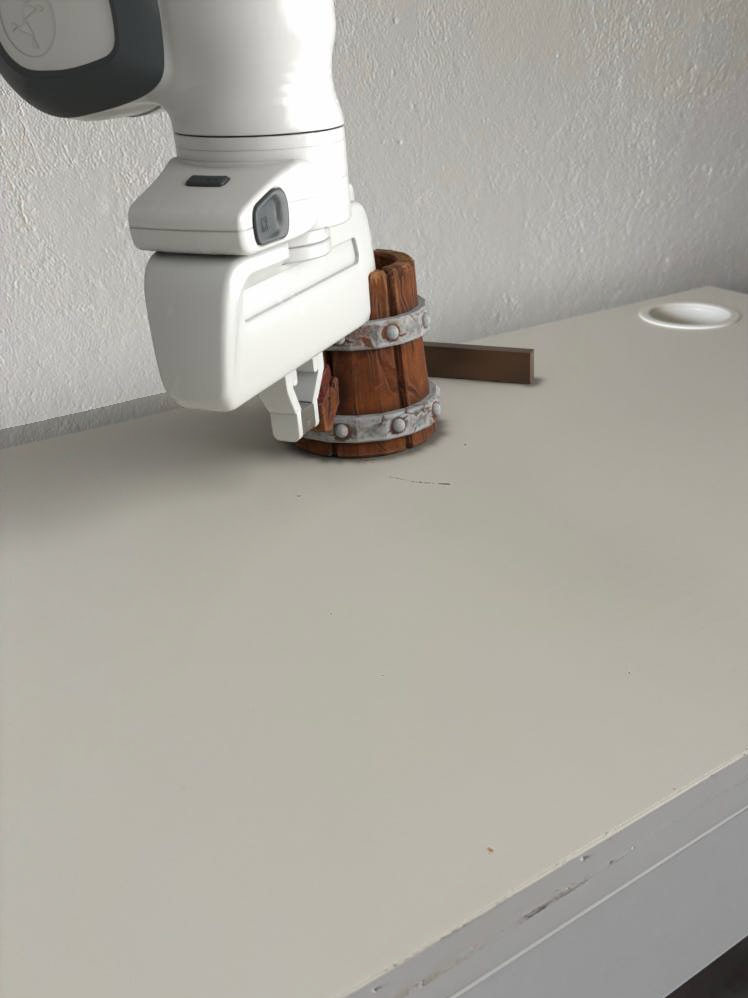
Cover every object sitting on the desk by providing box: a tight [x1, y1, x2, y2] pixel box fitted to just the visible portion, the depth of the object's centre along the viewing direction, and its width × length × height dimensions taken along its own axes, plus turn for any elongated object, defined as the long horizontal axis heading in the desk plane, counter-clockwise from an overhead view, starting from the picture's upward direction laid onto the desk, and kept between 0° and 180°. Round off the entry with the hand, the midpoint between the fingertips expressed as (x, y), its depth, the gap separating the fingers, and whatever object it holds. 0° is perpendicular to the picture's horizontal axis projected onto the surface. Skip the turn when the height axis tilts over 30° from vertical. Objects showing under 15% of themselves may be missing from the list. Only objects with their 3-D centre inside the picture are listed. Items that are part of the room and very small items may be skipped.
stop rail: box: [423, 340, 535, 385], centre depth 84 cm, size 14×1×2 cm, turn 72°
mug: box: [293, 248, 442, 459], centre depth 70 cm, size 12×14×15 cm
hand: (297, 433), depth 63 cm, fingers closed
